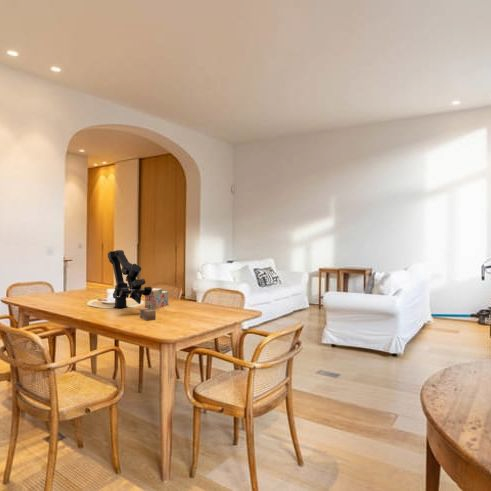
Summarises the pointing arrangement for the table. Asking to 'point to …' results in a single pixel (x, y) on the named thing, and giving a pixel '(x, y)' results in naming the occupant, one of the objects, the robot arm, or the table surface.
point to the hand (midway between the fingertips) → (139, 303)
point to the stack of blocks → (156, 299)
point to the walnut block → (147, 314)
